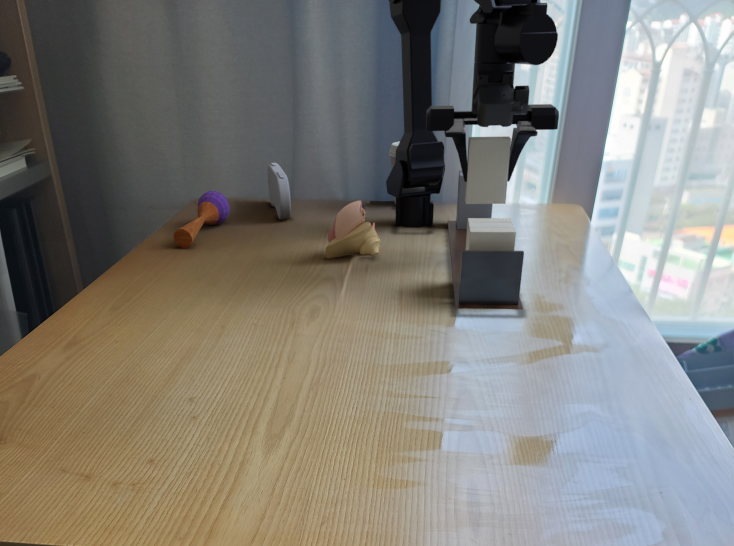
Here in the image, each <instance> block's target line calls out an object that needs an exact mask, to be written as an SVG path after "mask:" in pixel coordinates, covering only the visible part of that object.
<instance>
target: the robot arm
mask: <svg viewBox="0 0 734 546" xmlns="http://www.w3.org/2000/svg"><path fill="white" fill-rule="evenodd" d="M473 1H474V2H475V3H476V4H477V5H478V8H477V9H476V10H475V12H473V14H472V15H471V16H470V18H469V23H470V24H472V25H475V39H474V41H475V43H474V59H473V77H472V92H471V93H472V94H471V95H472V96H471V110H455V107H454V105H433V79H432V78H433V77H432V76H433V74H432V73H433V71H432V69H433V68H432V31H433V29H434V27H435V25H436V23H437V20H438V18H439V17H440V14H441V11H442V10H441V9H442V0H388V4H389V13H390V19H391V20H392V21H393V23H394V25H395V27H396V29H397V30H398V32H399V34H400V40H401V44H400V45H401V72H402V74H401V75H402V76H401V77H402V101H403V104H402V105H403V107H402V108H403V135H402V137H401V138H400V143H399V145H398V147H397V149H396V157H395V164H394V166H393V168H392V170H391V169H390V170H391V171H390V172H389V174H388V176H387V179H386V180H385V186H386V194H388V195H390V196H392V197H393V198H394V197H396V204H395V227H402V228H410V229H413V228H414V229H416V228H417V229H419V228H423V227H433V226H434V212H435V211H434V208H435V207H434V206H435V204H434V203H435V202H434V200H431V199H432V195H435V194H436V195H439V194H440V193H441V190H442V185H443V182H444V181H443V180H444V176H445V171H446V163H445V144H444V142H443V141H442V140H438V138H437V136H436V134H435V133H434V132H443V133H444V136H445V138H451V139H452V141H453V144H454V146H455V149H456V152H457V157H458V159H459V164H460V168H461V170H462V173H463V177H464V182H467V173H468V167H467V158H468V150H467V135H466V134H467V133H466V131H465V129H464V128H465V127H466V126H479V127H481V128H488V127H490V126H495V127H496V126H501V127H502V128H508V127H510V126H512V125H515V126H516V127H513V129H512V134H511V145H510V157H509V169H508V181H507V183H509V182H510V180H511V178H512V176H513V174H514V171H515V168H516V166H517V163H518V161H519V158H520V156H521V153H522V152H523V149H524V148H525V147H526V145H527V142H528V141H529V140H530V138H531V137H537V136H538V134H539V132H538V131H549V130H550V131H553V130H558V128H559V120H560V111H559V110H558V108H557V107H556V106H555V105H553V104H551V103H541V104H534V103H533V104H530V103H529V100H530V85H515V86H514V84H515V70H516V65H529V66H539V65H542V64H544V63H546V62H547V61H548V60H549V59H550V58H551V57H552V56H553V54H554V52H555V49H556V48H557V43H558V38H559V33H558V31H557V26H556V23H555V21H554V19H553V18H552V17H551V16H550V14H548V3H547V2H541V0H473Z"/></svg>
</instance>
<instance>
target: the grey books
mask: <svg viewBox="0 0 734 546" xmlns="http://www.w3.org/2000/svg"><path fill="white" fill-rule="evenodd" d="M465 194H466V182H464V177H463V173H462V169H461V170H458V179H457V197H456V216H455V221H456V226H457V229H467V221H468V218H493V205H494V204H466V202H465Z"/></svg>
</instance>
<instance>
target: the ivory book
mask: <svg viewBox="0 0 734 546" xmlns="http://www.w3.org/2000/svg"><path fill="white" fill-rule="evenodd" d="M511 140H512V137H510V136H468V140H467V142H468V144H467V167H468V173H467V182H466V194H465V202H466V204H493V205H506V203H507V191H508V182H507V181H508V169H509V157H510V146H511Z"/></svg>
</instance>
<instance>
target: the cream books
mask: <svg viewBox="0 0 734 546" xmlns="http://www.w3.org/2000/svg"><path fill="white" fill-rule="evenodd" d="M516 239H517V230H516V227H515V225H514V223H513V220H512V218H508V217H507V218H505V217H503V218H501V217H498V218H496V217H491V218H468V221H467V236H466V250H497V251H516V250H515V248H516Z"/></svg>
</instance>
